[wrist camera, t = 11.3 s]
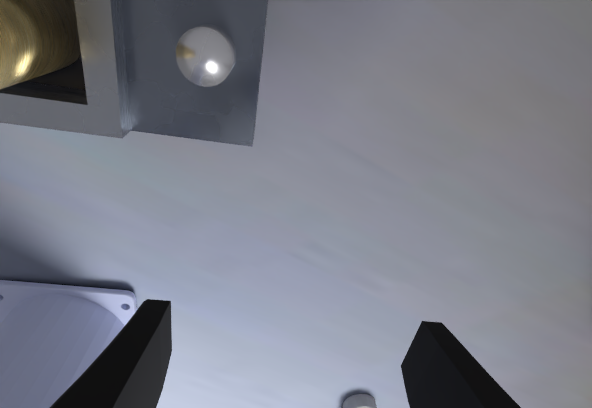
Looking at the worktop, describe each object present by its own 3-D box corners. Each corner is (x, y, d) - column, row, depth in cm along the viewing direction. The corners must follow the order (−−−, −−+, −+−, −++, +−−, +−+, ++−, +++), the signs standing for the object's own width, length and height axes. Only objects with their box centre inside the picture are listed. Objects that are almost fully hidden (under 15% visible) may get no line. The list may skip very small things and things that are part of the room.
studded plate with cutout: (253, 138, 17) (250, 159, 15) (-177, 80, 15) (-253, 94, 13) (273, -48, 13) (271, -56, 11) (-291, -158, 11) (-425, -195, 9)
